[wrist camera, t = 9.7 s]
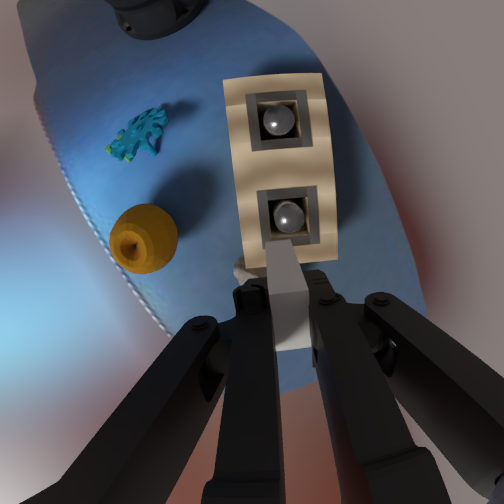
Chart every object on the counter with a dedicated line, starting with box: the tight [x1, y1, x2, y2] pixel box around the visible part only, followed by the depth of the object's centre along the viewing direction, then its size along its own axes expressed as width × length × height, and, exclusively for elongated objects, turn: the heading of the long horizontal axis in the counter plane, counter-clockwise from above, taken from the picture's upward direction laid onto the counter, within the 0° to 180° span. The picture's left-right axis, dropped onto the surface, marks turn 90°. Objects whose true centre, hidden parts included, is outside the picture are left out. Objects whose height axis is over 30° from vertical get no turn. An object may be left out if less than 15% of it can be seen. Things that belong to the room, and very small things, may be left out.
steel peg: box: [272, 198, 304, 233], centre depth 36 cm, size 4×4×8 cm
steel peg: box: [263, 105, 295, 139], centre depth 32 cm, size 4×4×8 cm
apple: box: [109, 204, 178, 274], centre depth 36 cm, size 10×10×12 cm
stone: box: [233, 252, 267, 286], centre depth 41 cm, size 10×8×6 cm
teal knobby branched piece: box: [105, 108, 169, 162], centre depth 36 cm, size 11×6×10 cm
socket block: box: [223, 73, 338, 269], centre depth 35 cm, size 24×12×8 cm, turn 6°
